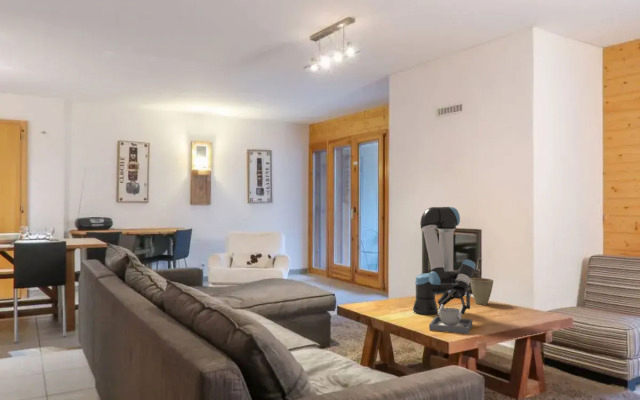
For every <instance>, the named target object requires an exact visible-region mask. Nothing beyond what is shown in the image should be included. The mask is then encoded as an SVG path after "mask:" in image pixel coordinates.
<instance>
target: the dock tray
mask: <svg viewBox="0 0 640 400" xmlns="http://www.w3.org/2000/svg"><path fill="white" fill-rule="evenodd" d="M472 327H473V319H471V318H461V320H460V322H459V323H458V324H457V325H455V326H447V325H444V324H443V323H442V322H441V319H440V317H439V316H434V317H433V319H432V320H431V322H430V323H429V325H428V330H429V329H430V330H429V331H432V330H439V331H438V332H443V331H448V332H447V333H454V332H456V333H457V334H464V335H465V334H466V335H467V334H470V331H471V329H472Z"/></svg>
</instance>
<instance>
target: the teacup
mask: <svg viewBox="0 0 640 400" xmlns="http://www.w3.org/2000/svg"><path fill="white" fill-rule="evenodd" d="M459 311H460V309H459V308H456V307H444V309H440V319H441V322H442V323H443V324H444V325H447V326H455V325H457V324H458V323H459V322H460V320H459V319H458V317H457V316H458V314H459Z"/></svg>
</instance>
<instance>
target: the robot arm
mask: <svg viewBox="0 0 640 400" xmlns="http://www.w3.org/2000/svg"><path fill="white" fill-rule="evenodd" d="M460 223H461V216H460V213H459V211H458V209H457V208H456V207H453V206H438V207H437V206H433V207H432V206H431V207H429V208H427V209H425V210H424V211H423V213H422V215H421V218H420V225H419V226H420V230H421V231H422V232H423V236H424V241H425V246H426V251H427V254H428V260H429V265H430V269H431V271H430V272H427V273H420V274H418V275H417V276H416V277H415V301H414V304H413V307H412V312H413V311H414V312H416V313H415V314H417V313H420V314H419V315H426V314H430V315H436V314H437V315H438V317H440V309H444V308H445V306H446V305H447V304H448V303H449V302H450V301H452V300H454V299H458V300H460V302H461V305H462V306H460V309H459V310H460V311H459V314H458V316H457V317H458V319H459V320H461V319H462V317H463V315H465V313H466V311H467V310H470V309H471V295H472V293H471V292H470V291H467V290H468V288H469V285H470V284H471V283H470V280H471V278H473V276H474V272H475V270H476V263H475V262H474V261H473V260H470V259H464V260H463V261H462V263H461V265H460V267H459V268H458V269H457V270H454V233H455V230H456V229H457V226H459V224H460ZM437 230H438V234H437ZM436 295H442V296H440V298H439V299H438V300H437V302H436ZM464 297H465V298H466V299H465V300H466V302H465V300H464ZM437 303H438V305H439V306H438V305H437ZM414 312H413V313H414Z"/></svg>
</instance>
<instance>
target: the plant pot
mask: <svg viewBox="0 0 640 400" xmlns="http://www.w3.org/2000/svg"><path fill="white" fill-rule="evenodd" d="M469 284H470V289H471V292H472V293H471V294H472V297H473V299H474V301H475V304H477V305H488V303H489V300H490V298H491V294H492V291H493V287H494V285H493V284H494V279H491V278H483V277H472V278H471V280H470V283H469Z"/></svg>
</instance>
